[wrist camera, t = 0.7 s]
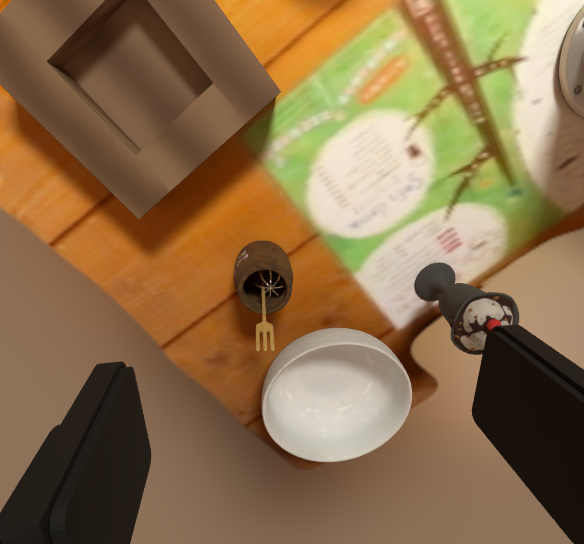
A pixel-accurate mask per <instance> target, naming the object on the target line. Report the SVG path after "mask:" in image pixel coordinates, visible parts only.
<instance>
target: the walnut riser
mask: <svg viewBox="0 0 584 544" xmlns="http://www.w3.org/2000/svg"><path fill="white" fill-rule="evenodd" d="M0 85H1V86H2V87H3V88H4V89H5V90H6V91H7V92H8V93H9V94H10V95H11V96H12V97H13V98H14V99H15V100H16V101H17V102H18V103H20V104H21V105H22V106H23V107H24V108H25V109H26V110H27V111H28V112H29V113H30V114H31V115H32V116H33V117H34V118H35V119H36V120H37V121H38V122H39V123H40V124H41V125H42V126H43V127H44V128H45V129H46V130H47V131H48V132H49V133H50V134H51V135H52V136H54V137H55V138H56V139H57V140H58V141H59V142H60V143H61V144H62V145H63V146H64V147H65V148H66V149H67V150H68V151H69V152H70V153H71V154H72V155H73V156H74V157H75V158H76V159H77V160H78V161H79V162H80V163H81V164H82V165H83V166H84V167H85V168H86V169H88V170H89V171H90V172H91V173H92V174H93V175H94V176H95V177H96V178H97V179H98V180H99V181H100V182H101V183H102V184H103V185H104V186H105V187H106V188H107V189H108V190H109V191H110V192H111V193H112V194H113V195H114V196H115V197H116V198H117V199H118V200H119V201H120V202H122V203H123V204H124V205H125V206H126V207H127V208H128V209H129V210H130V211H131V212H132V213H133V214H134V215H135V216H136V217H137V218H138V219H140V218H141V217H142V216H143V215H144V214H145V213H147V212H148V211H149V210H150V209H151V208H152V207H154V206H155V205H156V204H157V203H158V202H159V201H160V200H161V199H162V198H164V197H165V196H166V195H167V194H168V193H169V192H170V191H171V190H172V189H174V188H175V187H176V186H177V185H178V184H179V183H180V182H181V181H183V180H184V179H185V178H186V177H187V176H188V175H189V174H190V173H191V172H193V171H194V170H195V169H196V168H197V167H198V166H199V165H200V164H202V163H203V162H204V161H205V160H206V159H207V158H208V157H209V156H210V155H212V154H213V153H214V152H215V151H216V150H217V149H218V148H219V147H220V146H222V145H223V144H224V143H225V142H226V141H227V140H228V139H229V138H231V137H232V136H233V135H234V134H235V133H236V132H237V131H238V130H239V129H241V128H242V127H243V126H244V125H245V124H246V123H247V122H248V121H249V120H251V119H252V118H253V117H254V116H255V115H256V114H257V113H258V112H260V111H261V110H262V109H263V108H264V107H265V106H266V105H267V104H268V103H270V102H271V101H272V100H273V99H274V98H275V97H276V96H277V95H278V94H279V93H280V92H281V91H280V90H279V88H278V87H277V86H276V84H275V83H274V81H273V80H272V79H271V77H270V76H269V75H268V73H267V72H266V70H265V69H264V68H263V66H262V65H261V64H260V62H259V61H258V59H257V58H256V57H255V55H254V54H253V53H252V51H251V50H250V48H249V47H248V46H247V44H246V43H245V42H244V40H243V39H242V37H241V36H240V35H239V33H238V32H237V31H236V29H235V28H234V27H233V25H232V24H231V22H230V21H229V20H228V18H227V17H226V16H225V14H224V13H223V11H222V10H221V9H220V7H219V6H218V5H217V3H216V2H215V0H11V2H10V3H9V4H8V5H7V6H6V7H5V8H4V9H3V10H2V12H1V13H0Z"/></svg>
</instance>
